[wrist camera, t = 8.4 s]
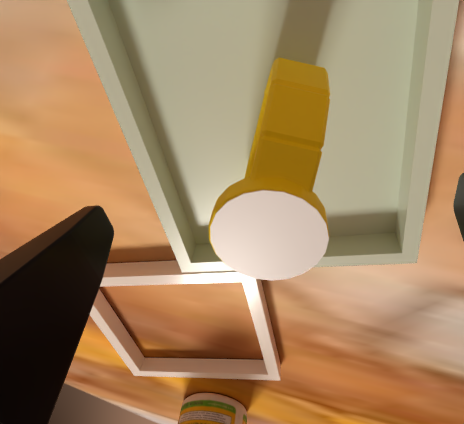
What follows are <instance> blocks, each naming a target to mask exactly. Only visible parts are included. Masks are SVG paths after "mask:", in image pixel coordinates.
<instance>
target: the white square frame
mask: <svg viewBox="0 0 464 424" xmlns="http://www.w3.org/2000/svg"><path fill="white" fill-rule="evenodd" d="M227 282H242V283H243V287H244V290H245V294H246V298H247V301H248V305H249V308H250V312H251V315H252V319H253V323H254V326H255V330H256V333H257V337H258V340H259V344H260V348H261V351H262V355H263V358H264V360H248V359H197V358H145V357H144V356H143V354H142V353H141V351H140V350H139V348H138V347H137V345H136V344H135V342H134V341H133V339H132V338H131V336H130V335H129V333H128V332H127V330H126V329H125V327H124V326H123V324H122V323H121V321H120V320H119V318H118V317H117V315H116V314H115V312H114V310H113V309H112V307H111V306H110V304H109V303H108V301H107V300H106V298H105V297H104V295H103V294H102V292H101V291H100V289H99V291H98V293H97V296H96V299H95V301H94V304H93V307H92V309H91V312H90V316H91V317H92V319H93V320H94V321H95V323H96V324H97V325H98V327H99V328H100V329H101V331H102V332H103V334H104V335H105V336H106V338H107V339H108V340H109V342H110V343H111V344H112V346H113V347H114V349H115V350H116V351H117V353H118V354H119V355H120V357H121V358H122V359H123V361H124V362H125V364H126V365H127V366H128V368H129V369H130V370H131V372H132V373H133V374H134V376H158V377H189V378H220V379H251V380H280V376H281V364H280V360H279V356H278V351H277V347H276V343H275V338H274V334H273V330H272V325H271V321H270V317H269V312H268V308H267V304H266V299H265V295H264V291H263V286H262V282H261V279H254V278H252V277H249V276H246V275H243V274H240V273H238V272H236V271H235V270H232V271H207V272H182V271H181V269H180V266H179V264H178V261H177V260H171V261H151V262H130V263H110V264H106V268H105V272H104V275H103V279H102V282H101V285H100V287H102V286H133V285H164V284H196V283H227Z"/></svg>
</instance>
